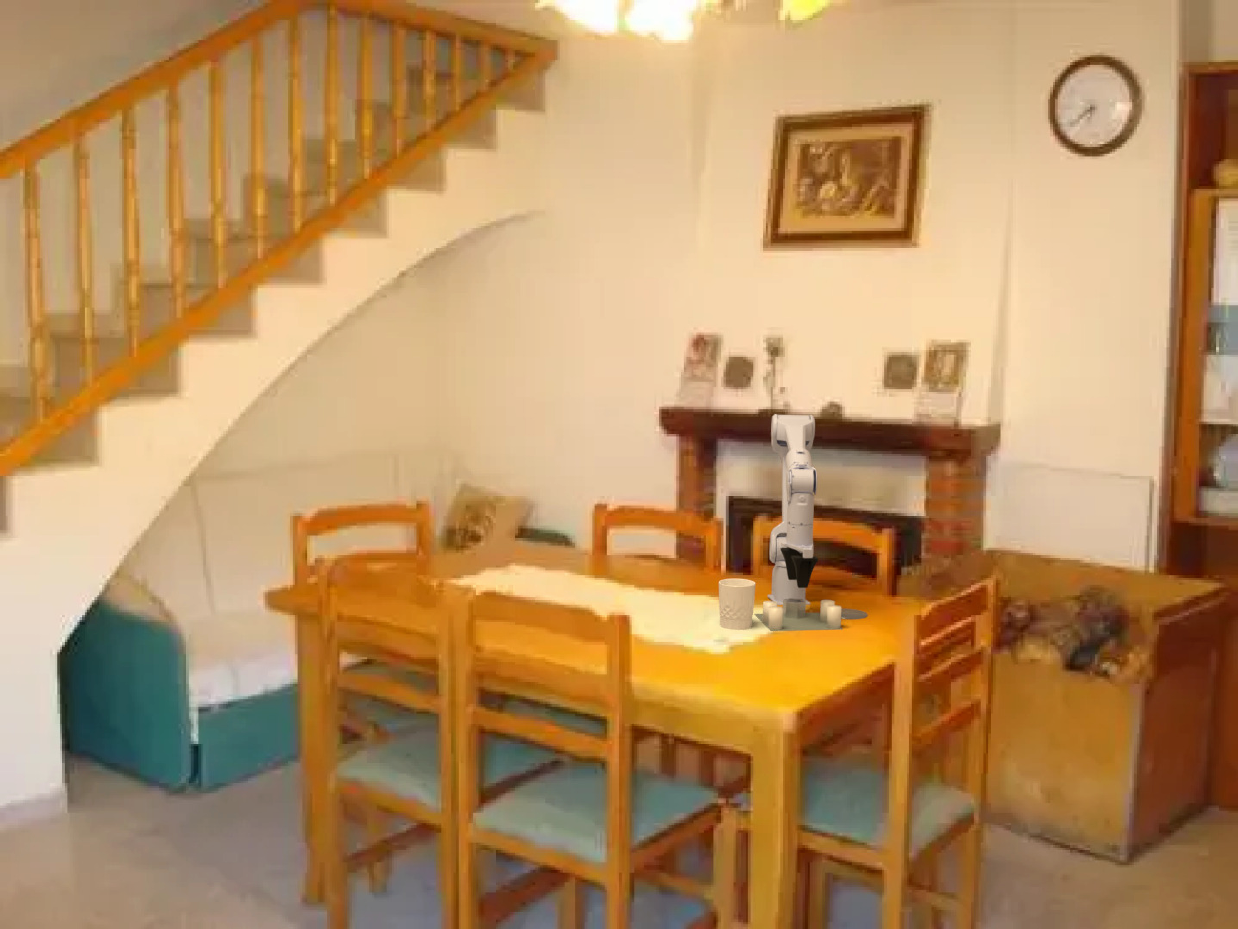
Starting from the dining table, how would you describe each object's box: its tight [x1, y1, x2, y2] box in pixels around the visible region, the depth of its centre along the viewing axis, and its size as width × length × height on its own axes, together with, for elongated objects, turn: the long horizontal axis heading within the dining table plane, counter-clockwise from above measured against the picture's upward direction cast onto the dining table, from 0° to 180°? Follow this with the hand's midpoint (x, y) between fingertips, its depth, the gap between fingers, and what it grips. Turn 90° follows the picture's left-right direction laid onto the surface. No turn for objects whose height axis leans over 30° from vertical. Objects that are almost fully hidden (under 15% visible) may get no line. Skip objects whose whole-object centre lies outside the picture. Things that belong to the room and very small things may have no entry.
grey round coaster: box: [841, 608, 868, 620], centre depth 317 cm, size 9×9×1 cm
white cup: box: [718, 578, 756, 631], centre depth 305 cm, size 8×8×10 cm
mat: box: [753, 612, 844, 632], centre depth 310 cm, size 15×16×1 cm
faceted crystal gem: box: [782, 598, 807, 619], centre depth 315 cm, size 5×4×4 cm
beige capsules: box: [762, 599, 842, 630], centre depth 307 cm, size 8×16×4 cm, turn 98°
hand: (797, 583), depth 312 cm, fingers open, 7 cm apart
